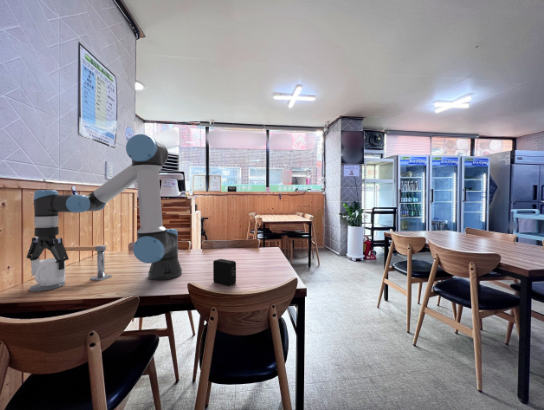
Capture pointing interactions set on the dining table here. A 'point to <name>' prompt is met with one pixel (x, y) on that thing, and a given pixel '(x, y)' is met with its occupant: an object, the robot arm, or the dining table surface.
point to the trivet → (45, 287)
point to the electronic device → (224, 272)
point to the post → (100, 267)
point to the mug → (48, 273)
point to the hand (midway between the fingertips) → (47, 276)
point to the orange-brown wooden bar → (85, 248)
